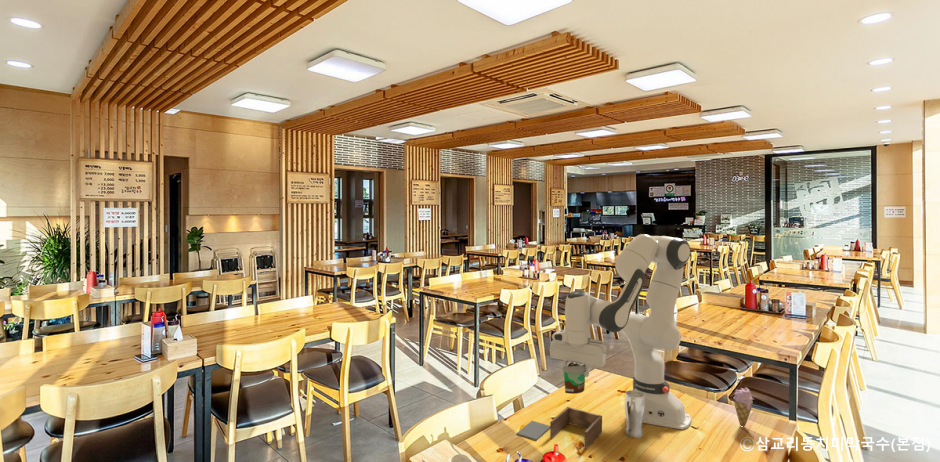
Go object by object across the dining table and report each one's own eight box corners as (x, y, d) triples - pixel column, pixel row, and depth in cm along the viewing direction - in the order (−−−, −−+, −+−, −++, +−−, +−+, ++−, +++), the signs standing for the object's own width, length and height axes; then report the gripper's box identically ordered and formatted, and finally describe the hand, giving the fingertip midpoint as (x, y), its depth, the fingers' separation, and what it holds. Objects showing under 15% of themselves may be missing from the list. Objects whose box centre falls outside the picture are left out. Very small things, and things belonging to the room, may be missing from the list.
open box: (601, 431, 169) (602, 415, 168) (586, 449, 156) (586, 432, 156) (567, 421, 177) (567, 406, 176) (550, 438, 164) (550, 421, 164)
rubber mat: (551, 427, 172) (551, 426, 172) (536, 440, 162) (536, 439, 162) (532, 421, 177) (532, 420, 177) (516, 434, 167) (516, 433, 167)
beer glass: (621, 429, 171) (622, 389, 170) (640, 429, 170) (641, 390, 170) (627, 438, 164) (628, 397, 163) (647, 438, 163) (648, 397, 163)
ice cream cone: (757, 429, 170) (758, 390, 170) (745, 432, 168) (746, 392, 167) (740, 421, 176) (741, 383, 176) (729, 424, 174) (730, 386, 173)
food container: (580, 397, 158) (579, 369, 158) (563, 394, 162) (562, 366, 161) (592, 386, 168) (592, 359, 168) (576, 383, 172) (576, 356, 172)
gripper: (608, 338, 161) (608, 377, 162) (555, 330, 173) (555, 366, 174) (602, 343, 156) (602, 383, 157) (547, 334, 168) (547, 371, 168)
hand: (577, 374), depth 165 cm, fingers closed on food container, 5 cm apart
